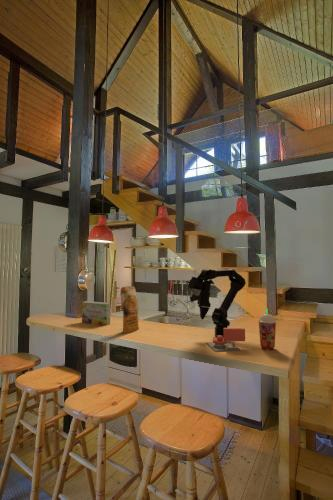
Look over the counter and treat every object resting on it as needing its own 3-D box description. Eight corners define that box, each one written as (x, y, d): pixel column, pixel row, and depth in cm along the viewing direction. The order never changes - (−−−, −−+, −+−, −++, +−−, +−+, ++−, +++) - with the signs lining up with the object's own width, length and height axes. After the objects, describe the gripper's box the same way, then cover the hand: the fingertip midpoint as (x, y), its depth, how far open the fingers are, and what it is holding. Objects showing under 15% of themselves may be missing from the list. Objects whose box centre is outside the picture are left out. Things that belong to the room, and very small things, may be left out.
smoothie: (272, 345, 143) (271, 307, 144) (279, 350, 135) (278, 309, 136) (256, 345, 143) (255, 307, 144) (262, 351, 134) (261, 309, 135)
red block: (213, 344, 138) (213, 329, 138) (212, 340, 145) (212, 326, 145) (246, 345, 136) (245, 330, 136) (243, 341, 143) (243, 327, 143)
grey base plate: (229, 342, 149) (229, 337, 149) (240, 350, 135) (240, 345, 135) (206, 343, 147) (206, 338, 147) (215, 351, 133) (215, 346, 133)
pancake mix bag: (116, 333, 168) (116, 287, 169) (134, 327, 184) (134, 285, 186) (125, 334, 165) (125, 287, 166) (142, 328, 181) (143, 285, 183)
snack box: (81, 323, 197) (81, 301, 198) (86, 321, 202) (86, 300, 203) (106, 325, 188) (106, 303, 189) (110, 324, 194) (111, 302, 194)
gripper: (190, 289, 168) (187, 314, 166) (191, 289, 150) (188, 318, 148) (208, 291, 167) (205, 317, 165) (212, 291, 149) (208, 321, 147)
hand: (201, 318), depth 156 cm, fingers open, 9 cm apart
